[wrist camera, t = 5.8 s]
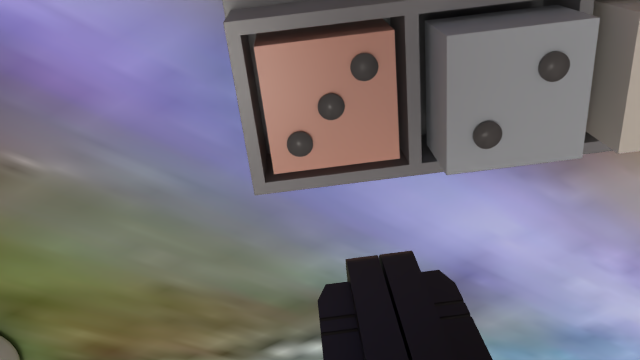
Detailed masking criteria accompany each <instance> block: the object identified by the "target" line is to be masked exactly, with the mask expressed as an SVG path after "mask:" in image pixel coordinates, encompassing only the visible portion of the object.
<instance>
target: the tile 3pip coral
mask: <svg viewBox="0 0 640 360" xmlns="http://www.w3.org/2000/svg"><path fill="white" fill-rule="evenodd" d="M254 52H255V58H256V65H257V71H258V77H259V83H260V90H261V96H262V102H263V108H264V115H265V121H266V127H267V133H268V140H269V146H270V152H271V158H272V165H273V171H274V174H279V173H287V172H296V171H304V170H312V169H320V168H328V167H336V166H344V165H352V164H360V163H368V162H376V161H384V160H392V159H400V152H399V127H398V103H397V79H396V55H395V31H394V29H393V28H392V27H391V26H390V25H389V24H388V23H387V22H386V21H385V20H384V19H382V18H381V19H372V20H364V21H356V22H347V23H339V24H331V25H322V26H314V27H306V28H298V29H289V30H281V31H273V32H264V33H256V38H255V43H254Z"/></svg>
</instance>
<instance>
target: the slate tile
mask: <svg viewBox="0 0 640 360" xmlns="http://www.w3.org/2000/svg"><path fill="white" fill-rule="evenodd" d="M599 22H600V17H597V16H594V15H590V14H587V13H584V12H580V11H577V10H574V9H571V8H567V7H564V6H561V5H550V6H542V7H533V8H525V9H517V10H509V11H500V12H492V13H484V14H475V15H467V16H459V17H451V18H442V19H434V20H426V21H425V70H426V131H427V146H428V147H429V149H430V150H431V152H432V153H433V155H434V157H435V158H436V160H437V161H438V163H439V164H440V166H441V167H442V169H443V170H444V172H445V173H446V175H451V174H459V173H467V172H475V171H483V170H491V169H499V168H507V167H515V166H523V165H531V164H539V163H547V162H555V161H563V160H571V159H579V158H582V156H583V148H584V140H585V132H586V124H587V117H588V109H589V101H590V93H591V85H592V77H593V69H594V61H595V53H596V46H597V38H598V30H599Z"/></svg>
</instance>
